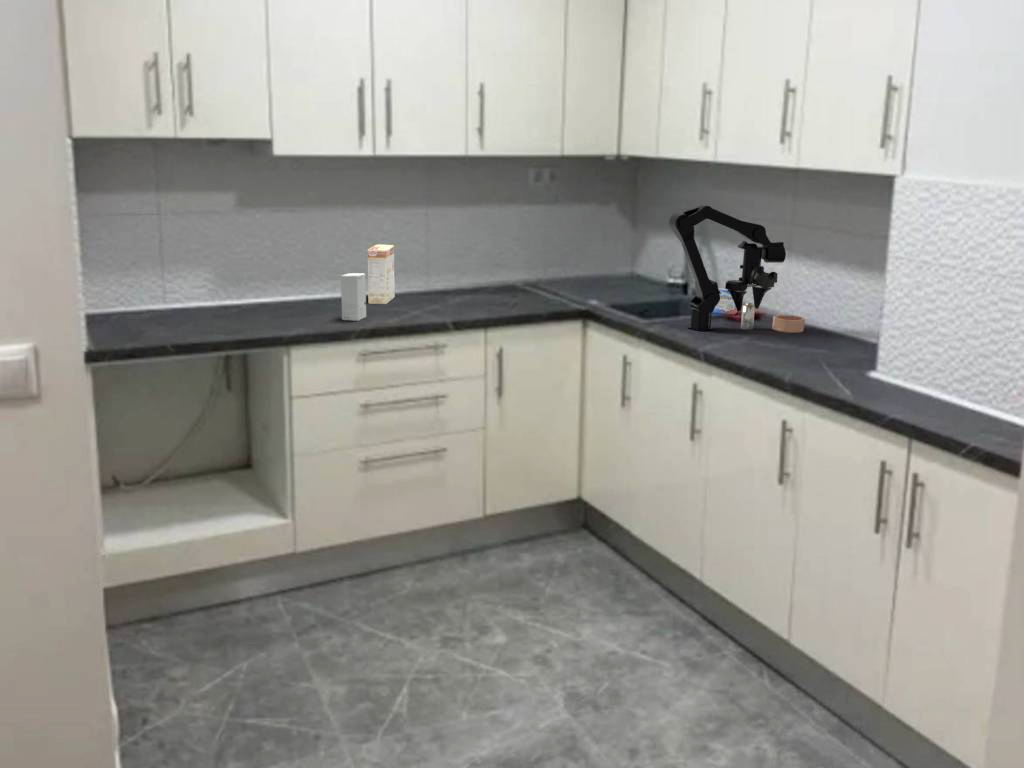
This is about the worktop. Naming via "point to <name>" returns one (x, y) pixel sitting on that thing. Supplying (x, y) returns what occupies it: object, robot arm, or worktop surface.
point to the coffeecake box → (381, 274)
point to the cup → (788, 323)
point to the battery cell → (747, 316)
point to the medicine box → (724, 302)
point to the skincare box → (353, 296)
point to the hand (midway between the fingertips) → (747, 309)
